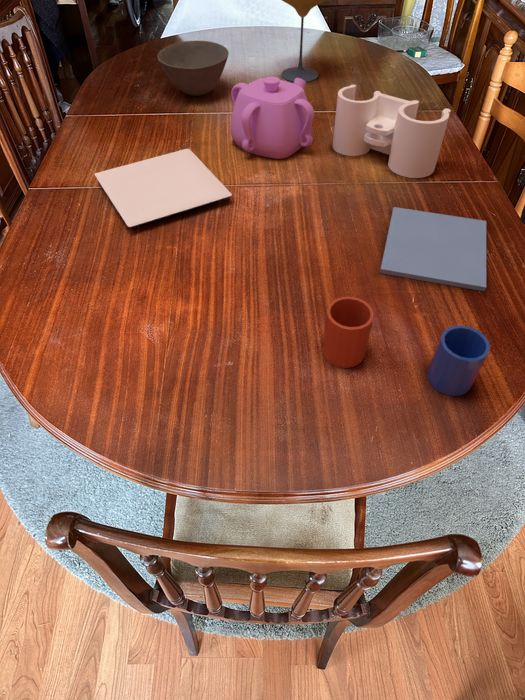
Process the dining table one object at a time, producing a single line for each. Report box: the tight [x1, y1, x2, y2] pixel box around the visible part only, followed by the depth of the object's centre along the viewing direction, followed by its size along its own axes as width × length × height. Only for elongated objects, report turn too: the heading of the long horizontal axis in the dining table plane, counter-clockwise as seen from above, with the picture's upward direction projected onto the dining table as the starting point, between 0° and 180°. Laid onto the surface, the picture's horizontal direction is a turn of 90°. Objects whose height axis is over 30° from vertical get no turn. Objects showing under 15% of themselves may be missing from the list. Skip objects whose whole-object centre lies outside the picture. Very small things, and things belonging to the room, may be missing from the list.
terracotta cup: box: [321, 296, 375, 369], centre depth 75 cm, size 7×7×8 cm
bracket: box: [332, 84, 452, 179], centre depth 113 cm, size 25×10×12 cm, turn 54°
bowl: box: [157, 40, 230, 97], centre depth 137 cm, size 19×19×10 cm
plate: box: [94, 148, 233, 228], centre depth 107 cm, size 22×22×2 cm
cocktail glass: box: [281, 0, 327, 83], centre depth 139 cm, size 18×18×25 cm
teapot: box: [230, 75, 315, 160], centre depth 118 cm, size 19×21×14 cm
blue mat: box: [379, 206, 487, 292], centre depth 95 cm, size 18×20×1 cm
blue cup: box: [426, 325, 491, 397], centre depth 72 cm, size 6×6×8 cm
